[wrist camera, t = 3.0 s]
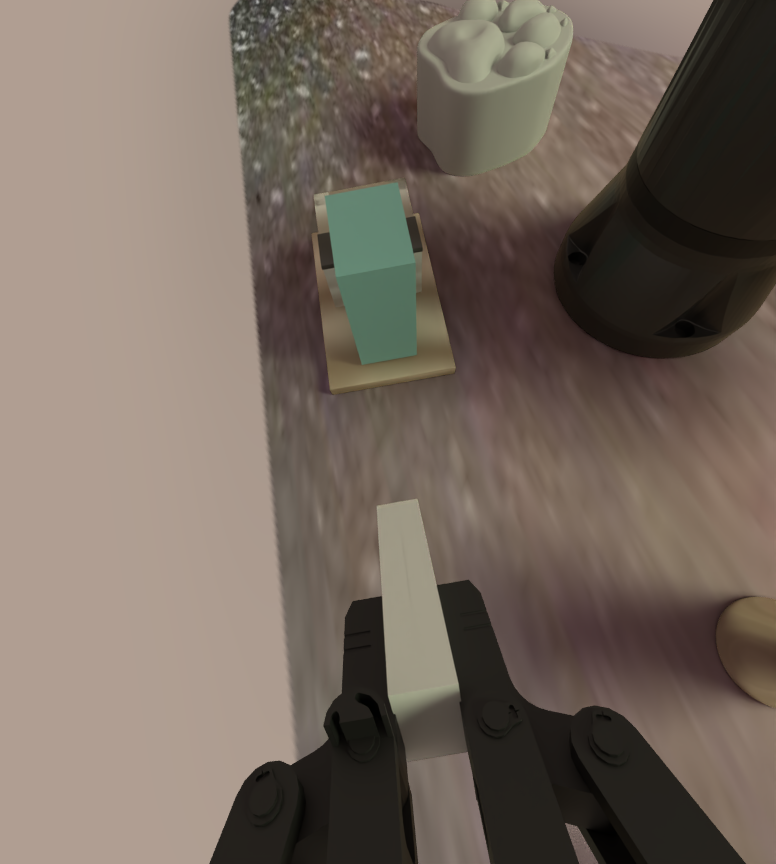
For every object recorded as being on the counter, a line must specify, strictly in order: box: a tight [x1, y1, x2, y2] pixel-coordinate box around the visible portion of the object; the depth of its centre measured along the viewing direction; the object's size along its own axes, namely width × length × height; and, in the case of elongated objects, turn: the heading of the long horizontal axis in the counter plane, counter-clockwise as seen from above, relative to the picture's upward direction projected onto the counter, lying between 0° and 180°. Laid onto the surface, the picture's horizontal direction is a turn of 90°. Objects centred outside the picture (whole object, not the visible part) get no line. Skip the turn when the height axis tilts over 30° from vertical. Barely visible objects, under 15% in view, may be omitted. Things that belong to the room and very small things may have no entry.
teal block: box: [325, 182, 417, 365], centre depth 27 cm, size 6×4×10 cm
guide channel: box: [311, 178, 456, 395], centre depth 31 cm, size 16×10×6 cm, turn 9°
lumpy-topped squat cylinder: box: [417, 0, 573, 176], centre depth 35 cm, size 10×13×9 cm
